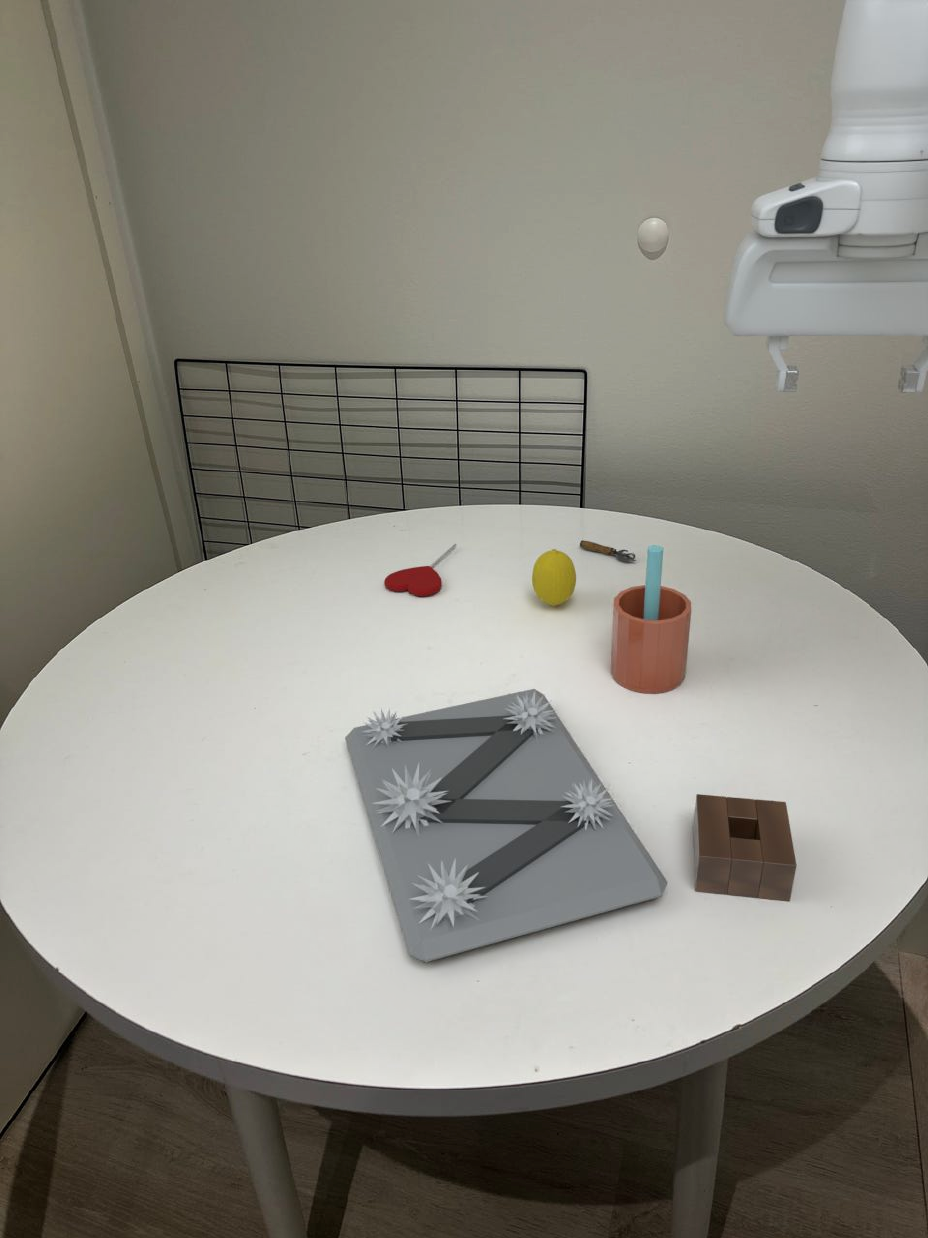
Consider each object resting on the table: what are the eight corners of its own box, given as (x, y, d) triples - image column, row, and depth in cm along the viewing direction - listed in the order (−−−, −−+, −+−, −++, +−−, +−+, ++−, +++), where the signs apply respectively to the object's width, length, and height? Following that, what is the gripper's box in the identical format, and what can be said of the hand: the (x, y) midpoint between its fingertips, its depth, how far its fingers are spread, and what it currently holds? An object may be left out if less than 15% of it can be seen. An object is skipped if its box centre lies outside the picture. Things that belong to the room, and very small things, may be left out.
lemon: (523, 605, 115) (522, 550, 111) (554, 591, 118) (554, 536, 114) (554, 621, 111) (554, 564, 107) (584, 605, 114) (585, 549, 110)
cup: (684, 655, 103) (690, 586, 99) (685, 696, 96) (692, 624, 92) (612, 650, 105) (615, 583, 100) (608, 691, 98) (611, 620, 93)
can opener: (578, 548, 128) (578, 541, 128) (588, 542, 130) (588, 535, 129) (632, 565, 123) (633, 558, 122) (641, 559, 124) (642, 552, 124)
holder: (779, 836, 78) (785, 801, 76) (789, 901, 72) (796, 866, 70) (692, 828, 79) (696, 793, 77) (695, 891, 73) (699, 856, 71)
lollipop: (431, 543, 132) (378, 588, 121) (430, 537, 132) (377, 582, 120) (480, 552, 129) (431, 599, 117) (480, 546, 128) (430, 593, 117)
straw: (654, 664, 101) (663, 545, 93) (654, 672, 100) (663, 551, 92) (640, 664, 101) (647, 544, 94) (640, 671, 100) (647, 551, 92)
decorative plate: (672, 904, 72) (678, 839, 69) (413, 977, 67) (405, 912, 64) (540, 700, 97) (539, 644, 94) (345, 743, 92) (336, 686, 89)
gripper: (1021, 192, 66) (975, 380, 73) (732, 201, 69) (715, 378, 76) (1052, 202, 60) (1000, 403, 67) (737, 211, 64) (719, 401, 71)
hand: (846, 390), depth 72 cm, fingers open, 8 cm apart
